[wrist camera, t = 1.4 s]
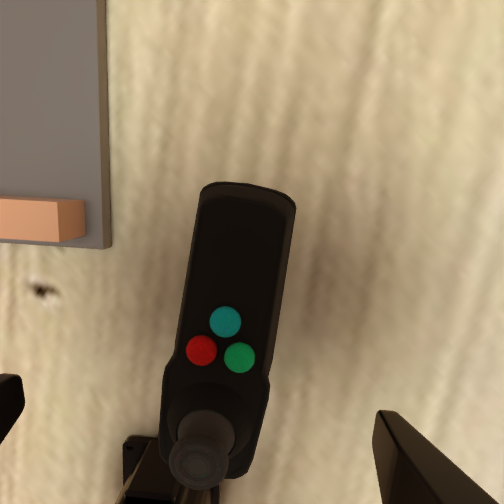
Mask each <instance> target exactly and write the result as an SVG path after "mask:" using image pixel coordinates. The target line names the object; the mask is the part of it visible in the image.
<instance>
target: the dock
mask: <svg viewBox="0 0 504 504" xmlns="http://www.w3.org/2000/svg"><path fill="white" fill-rule="evenodd" d="M0 243H15V244H30V245H45V246H60V247H75V248H90V249H105V248H108V247H111V219H110V176H109V133H108V90H107V47H106V4H105V0H0Z"/></svg>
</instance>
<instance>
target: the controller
mask: <svg viewBox="0 0 504 504" xmlns="http://www.w3.org/2000/svg"><path fill="white" fill-rule="evenodd" d="M295 214H296V205H295V202H294V201H293V200H292V199H291V198H290V197H289V196H287V195H286V194H284V193H282V192H279V191H277V190H273V189H269V188H265V187H261V186H256V185H252V184H248V183H236V182H214V183H211V184H209V185H207V186H205V187H203V189H202V190H201V192H200V197H199V203H198V208H197V214H196V220H195V225H194V231H193V237H192V243H191V249H190V255H189V261H188V267H187V273H186V279H185V285H184V291H183V297H182V303H181V309H180V315H179V322H178V328H177V334H176V340H175V349H174V353H173V356H172V357H171V359H170V360H169V362H168V364H167V365H166V367H165V371H164V375H163V381H162V395H161V409H160V424H159V438H158V442H159V454H160V456H161V458H162V459H163V460H164V462H165V463H166V464H168V465H169V467H170V470H171V472H172V474H173V475H174V477H175V478H176V479H177V481H178V482H179V483H181V484H182V485H184V486H185V487H188V488H191V489H194V490H206V489H210V488H213V487H214V486H216V485H218V484H219V483H221V482H222V480H223V479H236V478H238V477H241V476H243V475H244V474H246V473H247V472H248V470H249V467H250V465H251V463H252V460H253V458H254V454H255V450H256V446H257V442H258V438H259V434H260V430H261V427H262V423H263V419H264V415H265V411H266V407H267V403H268V399H269V391H270V383H269V378H268V375H269V371H270V367H271V363H272V359H273V353H274V347H275V340H276V334H277V328H278V321H279V315H280V309H281V302H282V296H283V290H284V283H285V277H286V271H287V264H288V258H289V252H290V245H291V239H292V233H293V226H294V220H295Z"/></svg>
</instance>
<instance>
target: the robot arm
mask: <svg viewBox="0 0 504 504" xmlns="http://www.w3.org/2000/svg"><path fill="white" fill-rule="evenodd" d="M24 406H25V397H24V390H23V384H22V379H21V377H20V376H19V375H17V374H7V373H3V374H0V444H1V443H2V441H3V440H4V438H5V437H6V435H7V434H8V432H9V431H10V429H11V428H12V427H13V425H14V424H15V422H16V421H17V419H18V418H19V416H20V415H21V413H22V411H23V409H24ZM129 444H131V445H133V447H132V446H130V445H129ZM372 448H373V454H374V459H375V465H376V470H377V476H378V482H379V487H380V493H381V498H382V504H499V503H498V502H497V501H495V500H494V499H493V498H492V497H491V496H490V495H489V494H488V493H487V492H485V491H484V490H483V489H482V488H481V487H480V486H479V485H478V484H476V483H475V482H474V481H473V480H472V479H471V478H470V477H469V476H468V475H466V474H465V473H464V472H463V471H462V470H461V469H460V468H459V467H457V466H456V465H455V464H454V463H453V462H452V461H451V460H450V459H449V458H447V457H446V456H445V455H444V454H443V453H442V452H441V451H440V450H438V449H437V448H436V447H435V446H434V445H433V444H432V443H431V442H430V441H428V440H427V439H426V438H425V437H424V436H423V435H422V434H421V433H419V432H418V431H417V430H416V429H415V428H414V427H413V426H412V425H411V424H409V423H408V422H407V421H406V420H405V419H404V418H403V417H402V416H400V415H399V414H398V413H397V412H395V411H388V410H379V411H378V412H377V414H376V418H375V425H374V431H373V437H372ZM219 500H220V483H219V484H218V485H216V486H214V487H213V488H210V489H206V490H194V489H191V488H188V487H185V486H184V485H182V484H181V483H179V482H178V481H177V479H176V478H175V477H174V475H173V474H172V472H171V470H170V467H169V465H168V464H166V463H165V462H164V460H163V459H162V458H161V456H160V454H159V442H158V439H153V438H142V437H128V438H127V439H126V440H125V442H124V444H123V489H122V491H121V493H120V495H119V497H118V499H117V501H116V503H115V504H219Z"/></svg>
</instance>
